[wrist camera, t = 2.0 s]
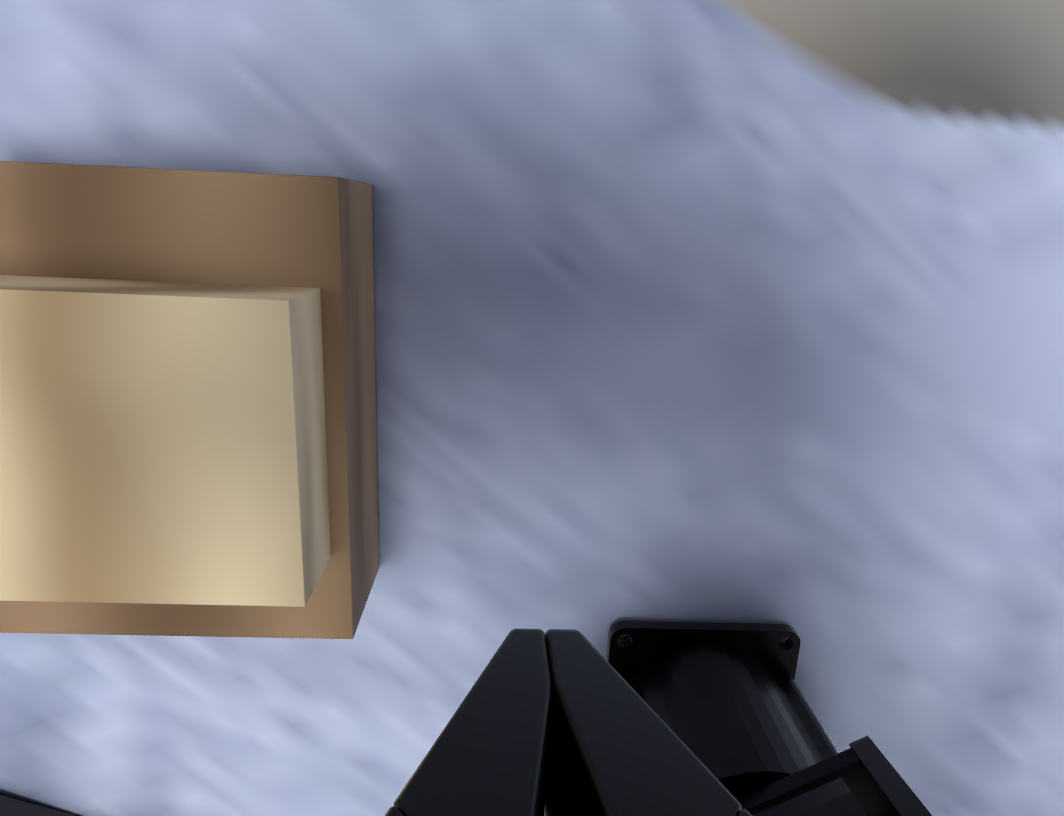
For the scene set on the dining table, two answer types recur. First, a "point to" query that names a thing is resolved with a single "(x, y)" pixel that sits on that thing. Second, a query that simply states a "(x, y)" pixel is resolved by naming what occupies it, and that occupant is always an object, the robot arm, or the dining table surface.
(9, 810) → the calculator
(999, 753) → the dining table surface
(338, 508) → the brown wooden block
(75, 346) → the birch tile
